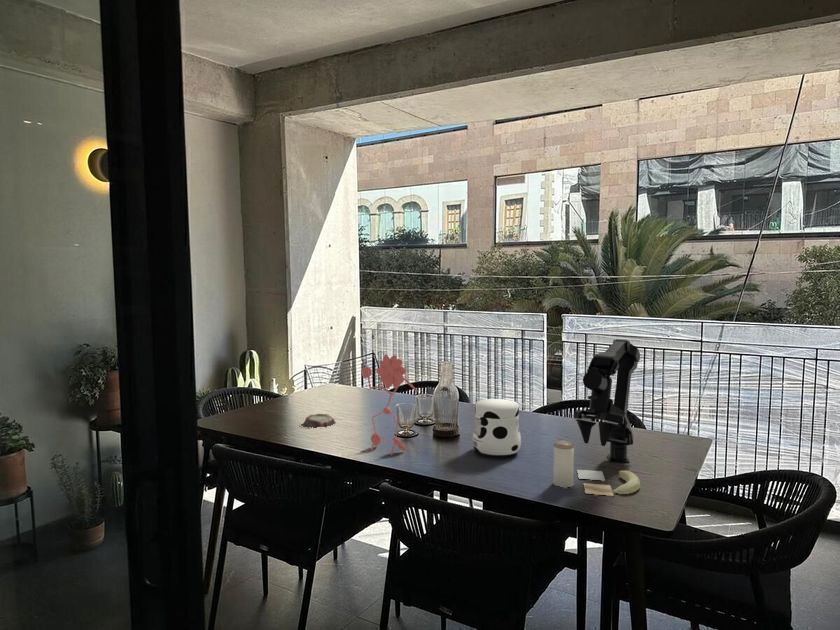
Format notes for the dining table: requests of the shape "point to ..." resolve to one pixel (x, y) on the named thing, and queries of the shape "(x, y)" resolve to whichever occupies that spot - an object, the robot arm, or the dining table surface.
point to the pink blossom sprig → (389, 375)
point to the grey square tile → (590, 475)
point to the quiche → (318, 421)
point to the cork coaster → (598, 489)
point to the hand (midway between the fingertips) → (594, 444)
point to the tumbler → (563, 463)
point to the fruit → (628, 483)
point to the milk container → (496, 428)
